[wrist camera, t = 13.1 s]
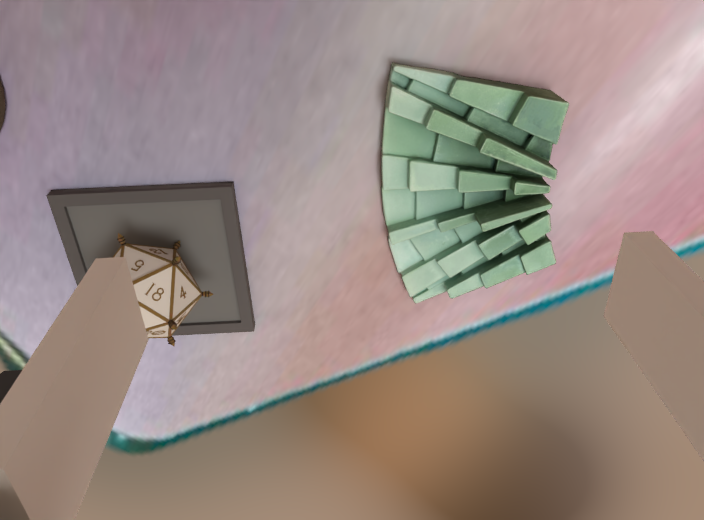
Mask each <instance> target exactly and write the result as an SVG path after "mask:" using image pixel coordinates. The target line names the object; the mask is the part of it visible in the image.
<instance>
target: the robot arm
mask: <svg viewBox="0 0 704 520" xmlns="http://www.w3.org/2000/svg"><path fill="white" fill-rule="evenodd" d="M604 318H605V319H606V320H607V322H608V323H609V325H610V326H611V328H612V329H613V331H614V332H615V334H616V335H617V336H618V338H619V339H620V341H621V342H622V344H623V345H624V347H625V348H626V349H627V351H628V352H629V354H630V355H631V357H632V358H633V359H634V361H635V362H636V364H637V365H638V367H639V368H640V370H641V371H642V373H643V374H644V375H645V377H646V378H647V380H648V381H649V383H650V384H651V386H652V387H653V388H654V390H655V391H656V393H657V394H658V396H659V397H660V399H661V400H662V401H663V403H664V404H665V406H666V407H667V409H668V410H669V412H670V413H671V414H672V416H673V417H674V419H675V420H676V422H677V423H678V425H679V426H680V428H681V429H682V430H683V432H684V433H685V435H686V436H687V438H688V439H689V440H690V442H691V444H692V445H693V446H694V448H695V449H696V451H697V452H698V454H699V455H700V457H701V458H702V459H703V461H704V281H703V280H702V279H701V278H700V277H699V276H698V275H697V274H696V273H695V272H694V271H693V270H692V269H691V268H690V267H689V266H688V265H687V264H686V263H685V262H684V261H683V260H682V259H681V258H680V257H679V256H678V255H676V254H675V253H674V252H673V251H672V250H671V249H670V248H669V247H668V246H667V245H666V244H665V243H664V242H663V241H662V240H661V239H660V238H659V237H658V236H657V235H656V234H655V233H654V232H653V231H649V232H628V233H624V235H623V239H622V243H621V247H620V251H619V255H618V259H617V263H616V267H615V271H614V275H613V279H612V283H611V288H610V292H609V296H608V300H607V304H606V308H605V312H604ZM148 340H149V339H148V336H147V332H146V329H145V325H144V321H143V318H142V314H141V311H140V307H139V304H138V300H137V296H136V293H135V289H134V286H133V282H132V279H131V275H130V271H129V268H128V264H127V261H126V257H114V258H96V259H95V260H94V262H93V264H92V265H91V267H90V268H89V270H88V271H87V273H86V274H85V276H84V277H83V279H82V280H81V282H80V283H79V285H78V286H77V288H76V289H75V291H74V292H73V294H72V295H71V297H70V299H69V300H68V302H67V303H66V305H65V306H64V308H63V309H62V311H61V312H60V314H59V315H58V317H57V318H56V320H55V321H54V323H53V324H52V326H51V327H50V329H49V330H48V332H47V334H46V335H45V337H44V338H43V340H42V341H41V343H40V344H39V346H38V347H37V349H36V350H35V352H34V353H33V355H32V356H31V358H30V359H29V361H28V362H27V364H26V365H25V367H24V368H23V370H14V371H3V372H2V373H1V374H0V520H75V518H76V515H77V513H78V510H79V508H80V506H81V503H82V501H83V498H84V496H85V493H86V491H87V488H88V485H89V484H90V481H91V478H92V476H93V474H94V471H95V469H96V466H97V464H98V462H99V459H100V457H101V454H102V452H103V449H104V447H105V445H106V442H107V440H108V437H109V435H110V432H111V430H112V427H113V425H114V423H115V420H116V418H117V415H118V413H119V410H120V408H121V406H122V403H123V401H124V398H125V396H126V393H127V391H128V388H129V386H130V384H131V381H132V379H133V376H134V374H135V371H136V369H137V366H138V364H139V362H140V359H141V357H142V354H143V352H144V349H145V347H146V344H147V342H148Z"/></svg>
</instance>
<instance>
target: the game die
mask: <svg viewBox="0 0 704 520" xmlns="http://www.w3.org/2000/svg"><path fill="white" fill-rule="evenodd" d="M117 240H118V241H119V243H120V244H121V246H120V248H119V249H118V250H117V252H116V253H115V254H114V256H113V257H112V258H114V257H126V261H127V264H128V268H129V271H130V275H131V279H132V282H133V286H134V289H135V293H136V296H137V300H138V304H139V307H140V311H141V314H142V318H143V321H144V325H145V329H146V332H147V336H148V338H168V342H169V343H168V344H171V345H173V346H174V343H175V340H174V337H172V334H173V333H174V332H175V330H176V329H177V328H178V327H179V325H180V324H181V323H182V321H183V320H184V319H185V317H186V316H187V315H188V313H189V312H190V311H191V310H192V308H193V307H194V306H195V304H196V303H197V302H198V300H199V299H200V298H201V296H204V297H208V298H209V297H210V296H212V295H214V294H213V293H211V292H210V291H204V292H202V291H201V289H200V288H199V286H198V284H197V283H196V281H195V280H194V278H193V276H192V275H191V273H190V271H189V270H188V268H187V267H186V265H185V263H184V262H183V260H182V258H181V257H180V255H179V254H178V252H177V249H179V247H181V244H180V241H178V242H175V244H174V245H173V248H165V247H156V246H146V245H137V244H128V243H126V242H125V240H126V239H125V238H124V236H122V235H121V234H119V233H118V238H117Z"/></svg>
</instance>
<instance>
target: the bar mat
mask: <svg viewBox="0 0 704 520" xmlns="http://www.w3.org/2000/svg"><path fill="white" fill-rule="evenodd" d="M47 198H48V201H49V204H50V207H51V210H52V213H53V216H54V219H55V222H56V225H57V228H58V231H59V234H60V236H61V239H62V242H63V245H64V248H65V251H66V254H67V257H68V260H69V263H70V266H71V269H72V272H73V275H74V277H75V280H76V283H77V286H78V285H79V283H80V282H81V280H82V279H83V277H84V276H85V274H86V273H87V271H88V270H89V268H90V267H91V265H92V264H93V262H94V260H95V259H96V258H112V257H113V256H114V254H115V253H116V252H117V250H118V249H119V248H120V246H121V244H120V243H119V241H118V240H117V238H118V233H119V234H121V235H122V236H124V238H125V239H126V240H125V242H126V243H128V244H137V245H146V246H156V247H165V248H173V245H174V244H175V242H178V241H180V244H181V247H179V249H177V252H178V254H179V255H180V257H181V258H182V260H183V262H184V263H185V265H186V267H187V268H188V270H189V271H190V273H191V275H192V276H193V278H194V280H195V281H196V283H197V284H198V286H199V288H200V289H201V291H202V292H204V291H210V292H211V293H213V294H214V295H212V296H210V297H209V298H208V297H204V296H201V298H200V299H199V300H198V302H197V303H196V304H195V306H194V307H193V308H192V310H191V311H190V312H189V313H188V315H187V316H186V317H185V319H184V320H183V321H182V323H181V324H180V325H179V327H178V328H177V329H176V330H175V332H174V333H173V334H172V336H173V335H192V334H212V333H231V332H251V331H254V328H255V321H254V314H253V308H252V301H251V294H250V288H249V281H248V275H247V268H246V262H245V255H244V248H243V242H242V235H241V229H240V222H239V215H238V209H237V202H236V196H235V189H234V182H216V183H194V184H172V185H151V186H129V187H108V188H86V189H64V190H51V192H50V193H49V194H48V195H47Z"/></svg>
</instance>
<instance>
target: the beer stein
mask: <svg viewBox="0 0 704 520" xmlns="http://www.w3.org/2000/svg"><path fill="white" fill-rule="evenodd" d="M4 115H5V97H4V90H3V87H2V84H1V81H0V130H1V127H2V124H3V122H4Z"/></svg>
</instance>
